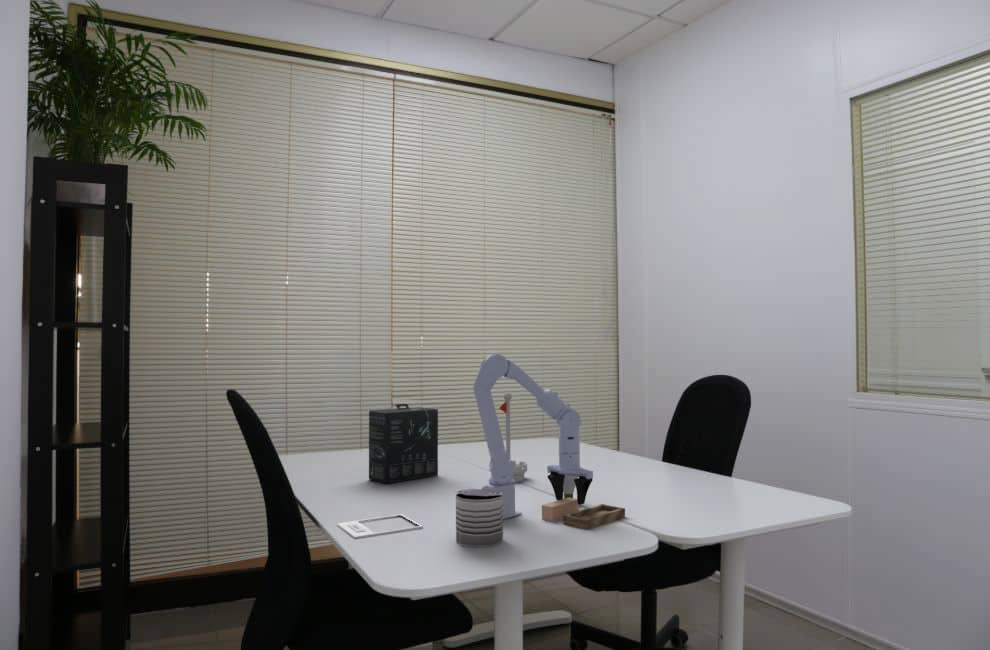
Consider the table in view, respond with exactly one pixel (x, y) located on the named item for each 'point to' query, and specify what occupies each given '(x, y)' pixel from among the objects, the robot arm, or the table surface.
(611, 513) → the wooden tray
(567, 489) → the light bulb
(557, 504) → the block
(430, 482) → the table surface
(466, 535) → the can
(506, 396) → the flag stand
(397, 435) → the headset box
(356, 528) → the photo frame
